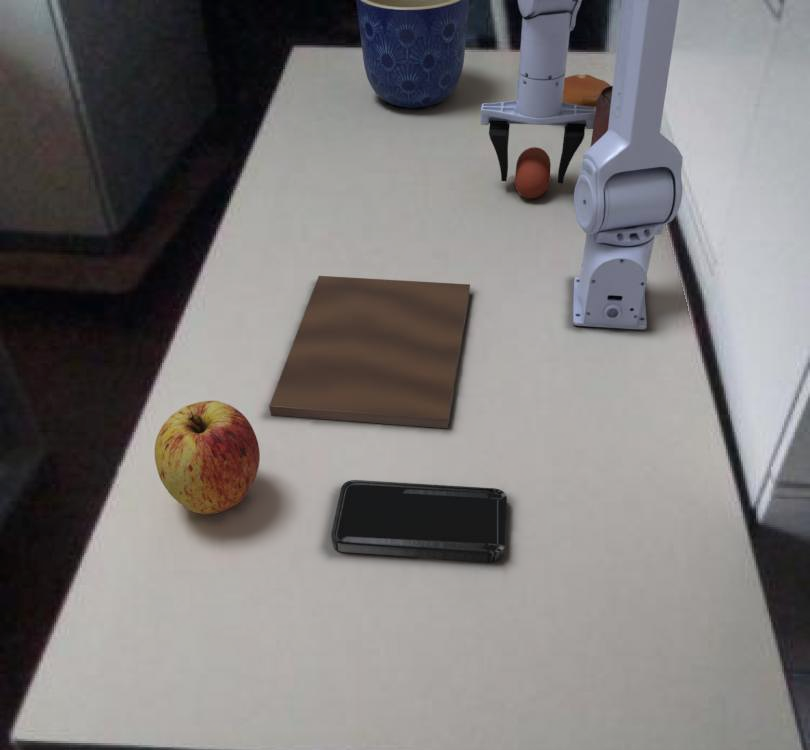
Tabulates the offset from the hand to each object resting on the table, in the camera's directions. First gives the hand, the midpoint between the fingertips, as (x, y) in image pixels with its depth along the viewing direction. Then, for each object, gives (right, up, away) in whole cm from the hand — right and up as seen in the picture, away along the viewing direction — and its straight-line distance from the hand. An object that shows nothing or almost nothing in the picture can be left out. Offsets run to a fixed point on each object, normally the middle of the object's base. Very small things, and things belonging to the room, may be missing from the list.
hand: (532, 179), depth 115 cm
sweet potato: (0, -1, +1) cm, 1 cm away
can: (+10, -4, -2) cm, 11 cm away
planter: (-16, +22, +22) cm, 35 cm away
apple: (-34, -45, -36) cm, 67 cm away
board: (-20, -28, -22) cm, 41 cm away
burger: (+9, +17, +17) cm, 26 cm away
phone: (-16, -47, -39) cm, 63 cm away
